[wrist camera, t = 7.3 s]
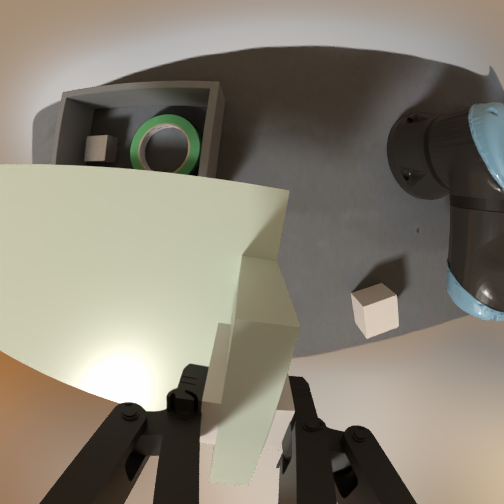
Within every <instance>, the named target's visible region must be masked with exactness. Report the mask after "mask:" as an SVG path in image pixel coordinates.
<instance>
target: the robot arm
mask: <svg viewBox="0 0 504 504" xmlns="http://www.w3.org/2000/svg"><path fill="white" fill-rule="evenodd" d="M387 156H388V162H389V166H390V169H391V171H392V174H393V176H394V178H395V179H396V181H397V182H398V184H399V185H400V186H401V187H402V188H403V189H404V190H405V191H406V192H407V193H409V194H410V195H412V196H414V197H416V198H420V199H427V200H435V199H439V198H442V197H444V196H446V195H448V194H450V237H449V252H448V259H447V269H448V270H447V291H448V293H449V295H450V297H451V299H452V300H453V302H454V303H455V304H456V305H457V306H458V307H460V308H461V309H462V310H464V311H465V312H467V313H469V314H471V315H473V316H475V317H477V318H480V319H484V320H491V319H494V320H495V321H502V320H504V104H503V103H499V102H491V103H486V104H482V103H479V104H474V105H472V106H471V107H467V108H464V109H460V110H457V111H454V112H450V113H447V114H444V115H441V116H437V115H432V114H427V113H412V114H410V115H407V116H405V117H402V118H401V119H399V120H398V121H397V122H396V123H395V124H394V126H393V127H392V129H391V131H390V134H389V137H388V142H387ZM230 329H231V324H225V323H219V322H218V327H217V332H216V336H215V341H214V345H213V350H212V355H211V360H210V364H209V367H208V366H202V365H196V364H191V363H190V364H188V365H187V366H186V367H185V368H184V369H183V372H182V375H181V378H180V381H179V384H178V387H177V388H176V389H173V390H171V391H170V392H168V394H167V396H166V400H167V408H166V409H164V410H161V411H146V410H145V409H144V408H143V407H142V406H140V405H139V404H137V403H133V402H124V403H121V404H118V405H117V406H116V407H115V408H114V409H113V411H112V412H111V413H110V414H109V415H108V417H107V418H106V419H105V420H104V422H103V423H102V424H101V426H100V427H99V428H98V429H97V431H96V432H95V433H94V435H93V436H92V437H91V438H90V439H89V441H88V442H87V443H86V445H85V446H84V447H83V448H82V450H81V451H80V452H79V453H78V455H77V456H76V457H75V459H74V460H73V461H72V463H71V464H70V465H69V466H68V467H67V469H66V470H65V471H64V473H63V474H62V475H61V477H60V478H59V479H58V480H57V482H56V483H55V484H54V486H53V487H52V488H51V489H50V491H49V492H48V493H47V495H46V496H45V497H44V499H43V500H42V501H41V502H40V504H124V503H125V501H126V499H127V497H128V496H129V494H130V492H131V490H132V488H133V486H134V485H135V483H136V481H137V479H138V477H139V475H140V474H141V471H142V470H143V468H144V466H145V464H146V463H147V461H148V459H149V457H150V456H158V455H159V461H158V468H157V475H156V483H155V491H154V499H153V504H199V451H200V443H206V444H212V445H215V441H216V434H217V428H218V421H219V415H220V409H221V402H222V393H223V385H224V377H225V369H226V361H227V353H228V345H229V337H230ZM281 445H282V448H283V453H282V455H281V457H280V460H279V462H278V464H277V467H276V468H279V466H280V478H279V499H278V500H279V502H278V504H337V503H338V504H417V503H416V502H415V500H414V498H413V497H412V495H411V494H410V492H409V490H408V489H407V487H406V486H405V484H404V483H403V481H402V479H401V478H400V476H399V475H398V473H397V472H396V470H395V468H394V467H393V465H392V464H391V462H390V461H389V459H388V457H387V456H386V454H385V453H384V451H383V450H382V448H381V446H380V445H379V443H378V442H377V440H376V439H375V437H374V435H373V434H372V433H371V431H370V430H369V429H367V428H365V427H362V426H351V427H348V428H347V429H346V430H345V432H343V431H338V430H333V429H330V428H328V427H326V425H325V423H324V422H323V421H322V420H321V419H320V418H318V416H317V413H316V409H315V406H314V402H313V398H312V395H311V392H310V388H309V384H308V383H307V382H306V380H305V379H304V378H303V377H296V376H288V373H287V376H286V380H285V383H284V386H283V389H282V393H281V396H280V399H279V402H278V405H277V408H276V411H275V414H274V417H273V420H272V423H271V426H270V429H269V432H268V435H267V438H266V441H265V444H264V446H263V449H262V450H276V451H279V450H280V448H281Z"/></svg>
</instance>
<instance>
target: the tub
mask: <svg viewBox="0 0 504 504" xmlns="http://www.w3.org/2000/svg"><path fill="white" fill-rule="evenodd" d="M135 106H202V107H207V113H206V119H205V126H204V133H203V141H202V148H201V156H200V165H199V173H198V176H200V177H207V178H215V179H216V171H217V162H218V154H219V146H220V138H221V131H222V123H223V116H224V109H225V98H224V95H223V92H222V88H221V85H220V82H217V81H150V82H134V83H123V84H113V85H105V86H97V87H90V88H84V89H78V90H72V91H67V92H63V94H62V98H61V103H60V108H59V113H58V118H57V123H56V129H55V135H54V142H53V150H52V158H51V165H76V166H86V163H87V161H84V157H85V148H86V140H87V136H90V133H91V126H92V120H93V115H94V110H95V109H105V108H118V107H135Z"/></svg>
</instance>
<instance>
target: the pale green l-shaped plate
mask: <svg viewBox="0 0 504 504" xmlns="http://www.w3.org/2000/svg"><path fill="white" fill-rule="evenodd" d="M288 197H289V191H288V190H282V189H277V188H271V187H266V186H260V185H254V184H248V183H241V182H235V181H228V180H222V179H215V178H207V177H200V176H192V175H184V174H176V173H167V172H157V171H147V170H136V169H124V168H111V167H96V166H76V165H43V164H11V165H0V351H2V352H4V353H6V354H7V355H9V356H11V357H13V358H14V359H16V360H18V361H20V362H22V363H24V364H26V365H28V366H30V367H32V368H33V369H35V370H38V371H40V372H42V373H44V374H46V375H48V376H50V377H52V378H55V379H57V380H59V381H61V382H64V383H66V384H69V385H71V386H73V387H76V388H78V389H81V390H84V391H86V392H89V393H92V394H95V395H97V396H100V397H103V398H106V399H109V400H112V401H115V402H118V403H124V402H133V403H137V404H139V405H140V406H142V407H143V408H144V409H145V410H146V411H161V410H164V409H166V408H167V400H166V396H167V394H168V392H170V391H171V390H173V389H176V388H177V387H178V384H179V381H180V378H181V375H182V372H183V369H184V368H185V367H186V366H187V365H188V364H190V363H191V364H196V365H202V366H208V367H209V364H210V360H211V355H212V350H213V345H214V341H215V336H216V332H217V327H218V322H219V323H225V324H231V329H230V337H229V345H228V353H227V361H226V369H225V377H224V385H223V393H222V402H221V409H220V415H219V421H218V428H217V434H216V441H215V445H214V447H213V456H212V463H211V473H210V481H209V482H213V483H220V484H230V485H239V486H240V485H241V486H249V483H250V481H251V478H252V476H253V473H254V471H255V468H256V465H257V463H258V460H259V457H260V455H261V452H262V449H263V446H264V444H265V441H266V438H267V435H268V432H269V429H270V426H271V423H272V420H273V417H274V414H275V411H276V408H277V405H278V402H279V399H280V396H281V393H282V389H283V386H284V383H285V380H286V376H287V373H288V370H289V366H290V363H291V359H292V356H293V352H294V349H295V345H296V341H297V338H298V334H299V330H300V325H299V322H298V319H297V316H296V313H295V310H294V308H293V305H292V302H291V299H290V296H289V294H288V291H287V288H286V285H285V282H284V280H283V277H282V274H281V271H280V268H279V266H278V263H277V257H278V251H279V246H280V241H281V235H282V230H283V225H284V219H285V214H286V208H287V203H288Z"/></svg>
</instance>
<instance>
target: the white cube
mask: <svg viewBox="0 0 504 504" xmlns="http://www.w3.org/2000/svg"><path fill="white" fill-rule="evenodd" d="M351 297H352V303H353V310H354V317H355V323H356V324H357V326H358V327H359V328H360V330H361V331H362V333H363V334H364V335H365V337H366V338H370V337H373V336H376V335H378V334H381V333H384V332H386V331H389V330H391V329H394V328H396V327H399V321H398V304H397V295H396V294H395V293H394V292H393V291H391V290H390V289H389V288H388V287H386V286H385V285H384V284H383V283H380V284H377V285H374V286H371V287H368V288H365V289H362V290H359V291H356V292H352V293H351Z"/></svg>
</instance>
